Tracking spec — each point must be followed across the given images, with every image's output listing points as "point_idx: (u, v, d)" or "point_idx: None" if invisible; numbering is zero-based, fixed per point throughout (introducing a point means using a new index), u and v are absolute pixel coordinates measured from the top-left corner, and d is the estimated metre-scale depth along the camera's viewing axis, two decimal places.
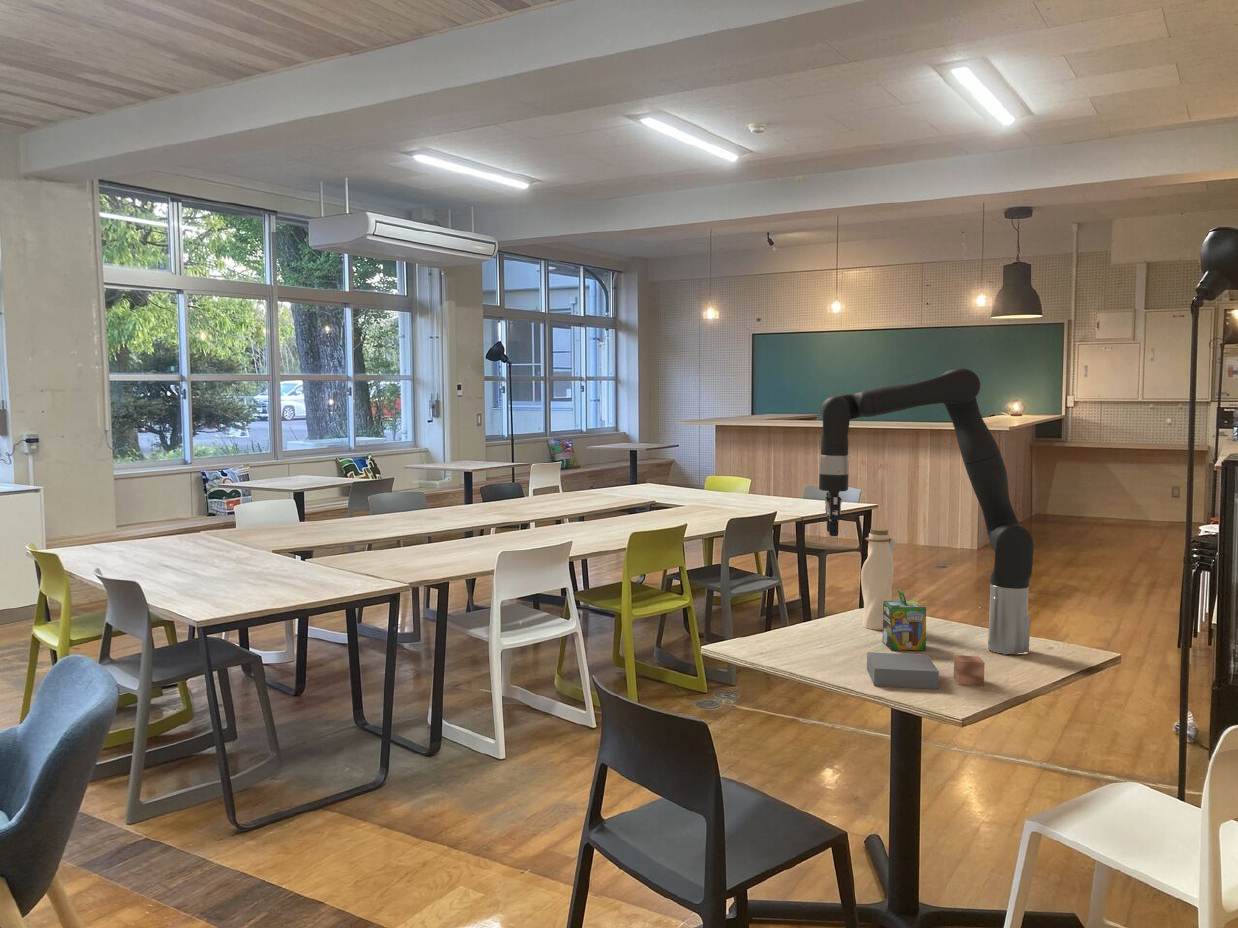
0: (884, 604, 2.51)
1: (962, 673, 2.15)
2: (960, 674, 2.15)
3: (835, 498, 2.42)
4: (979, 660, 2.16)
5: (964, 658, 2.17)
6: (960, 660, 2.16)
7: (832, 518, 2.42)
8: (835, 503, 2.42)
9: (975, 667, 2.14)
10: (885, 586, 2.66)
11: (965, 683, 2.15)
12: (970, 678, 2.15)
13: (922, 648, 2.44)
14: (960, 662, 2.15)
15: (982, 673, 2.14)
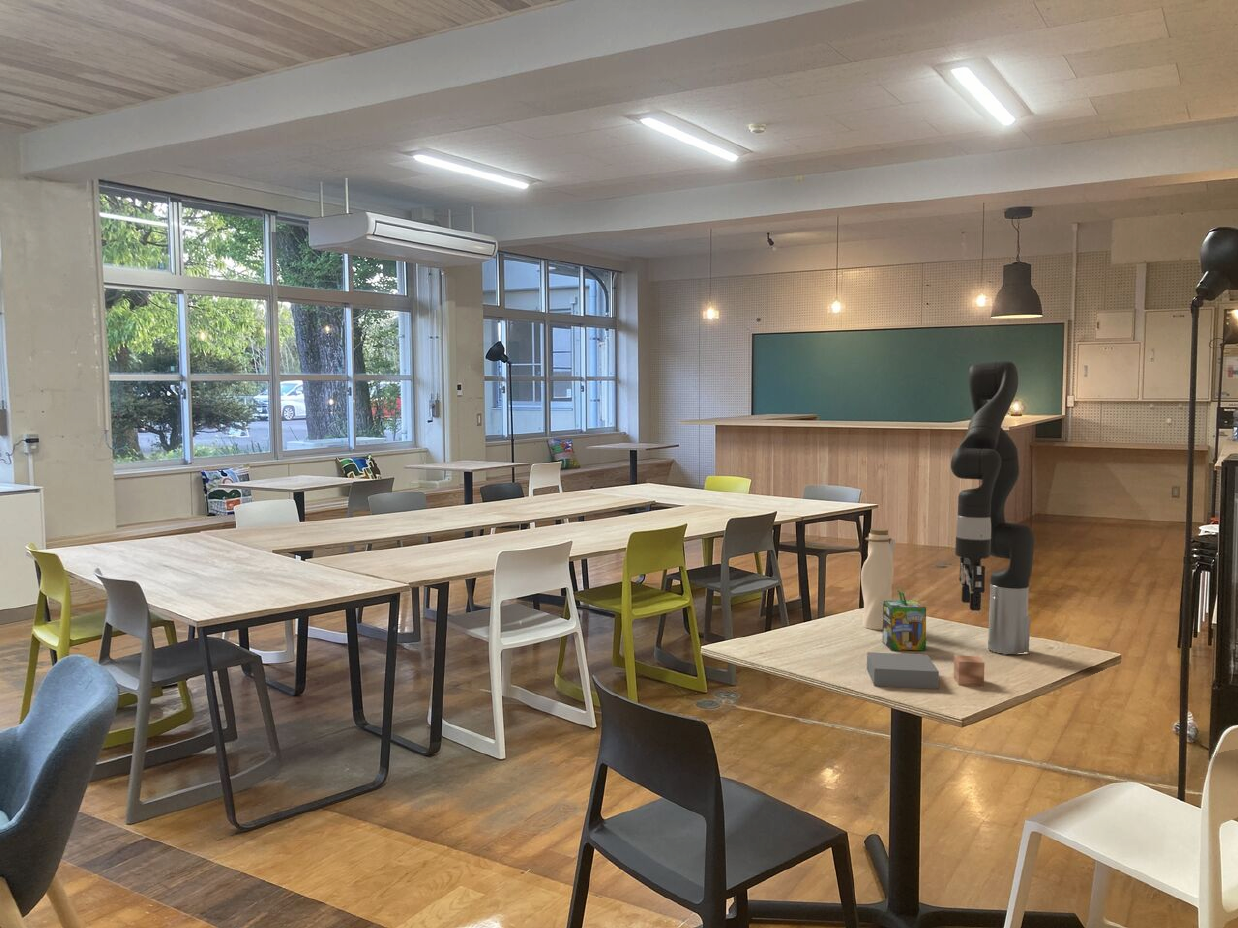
0: (884, 604, 2.51)
1: (962, 673, 2.15)
2: (960, 674, 2.15)
3: (979, 567, 2.09)
4: (979, 660, 2.16)
5: (964, 658, 2.17)
6: (960, 660, 2.16)
7: (975, 590, 2.09)
8: (979, 573, 2.09)
9: (975, 667, 2.14)
10: (885, 586, 2.66)
11: (965, 683, 2.15)
12: (970, 678, 2.15)
13: (922, 648, 2.44)
14: (960, 662, 2.15)
15: (982, 673, 2.14)
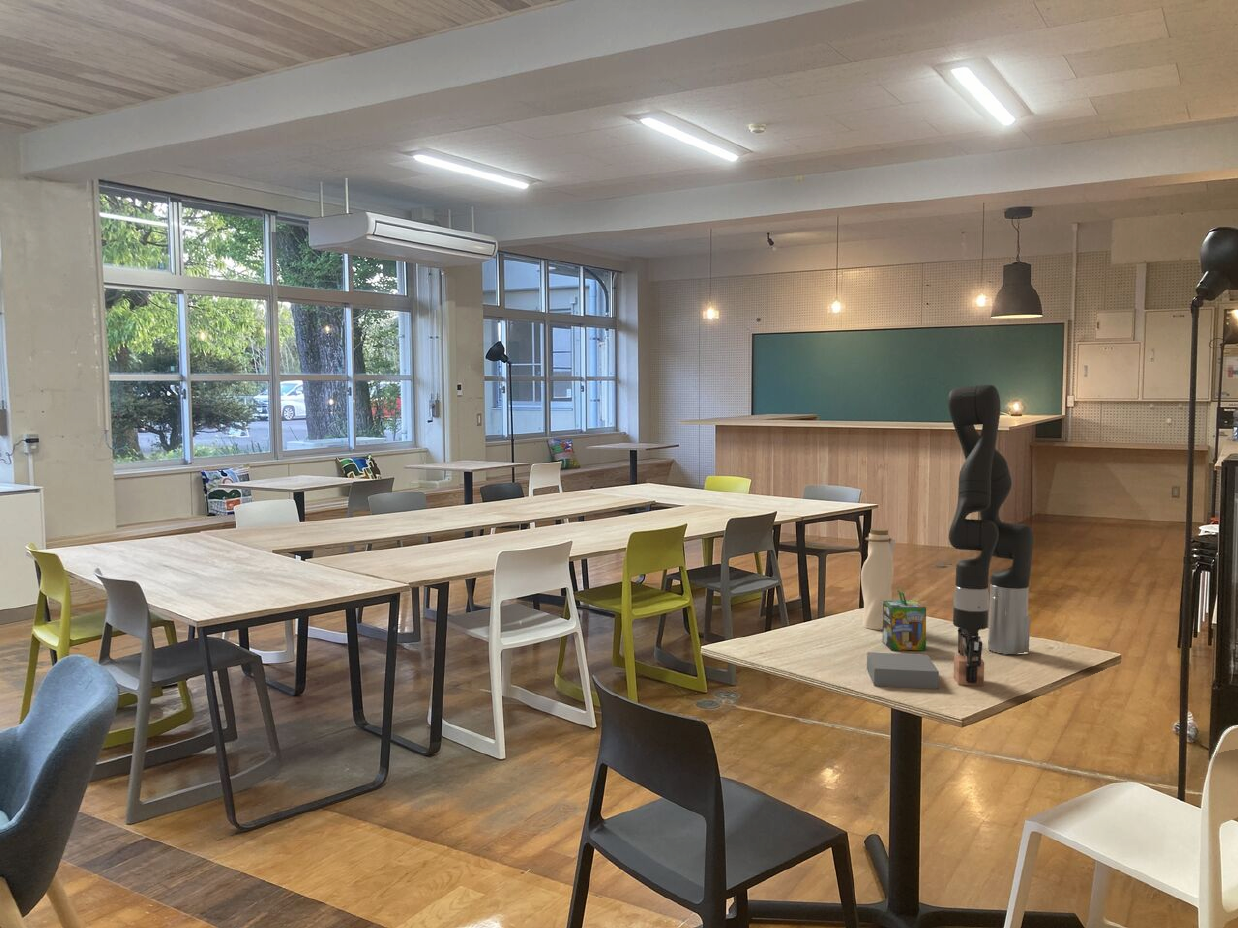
0: (884, 604, 2.51)
1: (962, 672, 2.15)
2: (960, 674, 2.15)
3: (976, 644, 2.10)
4: None
5: (964, 658, 2.17)
6: (960, 660, 2.16)
7: (971, 664, 2.12)
8: (976, 649, 2.11)
9: None
10: (885, 586, 2.66)
11: (965, 683, 2.15)
12: None
13: (922, 648, 2.44)
14: (960, 662, 2.15)
15: (982, 673, 2.14)
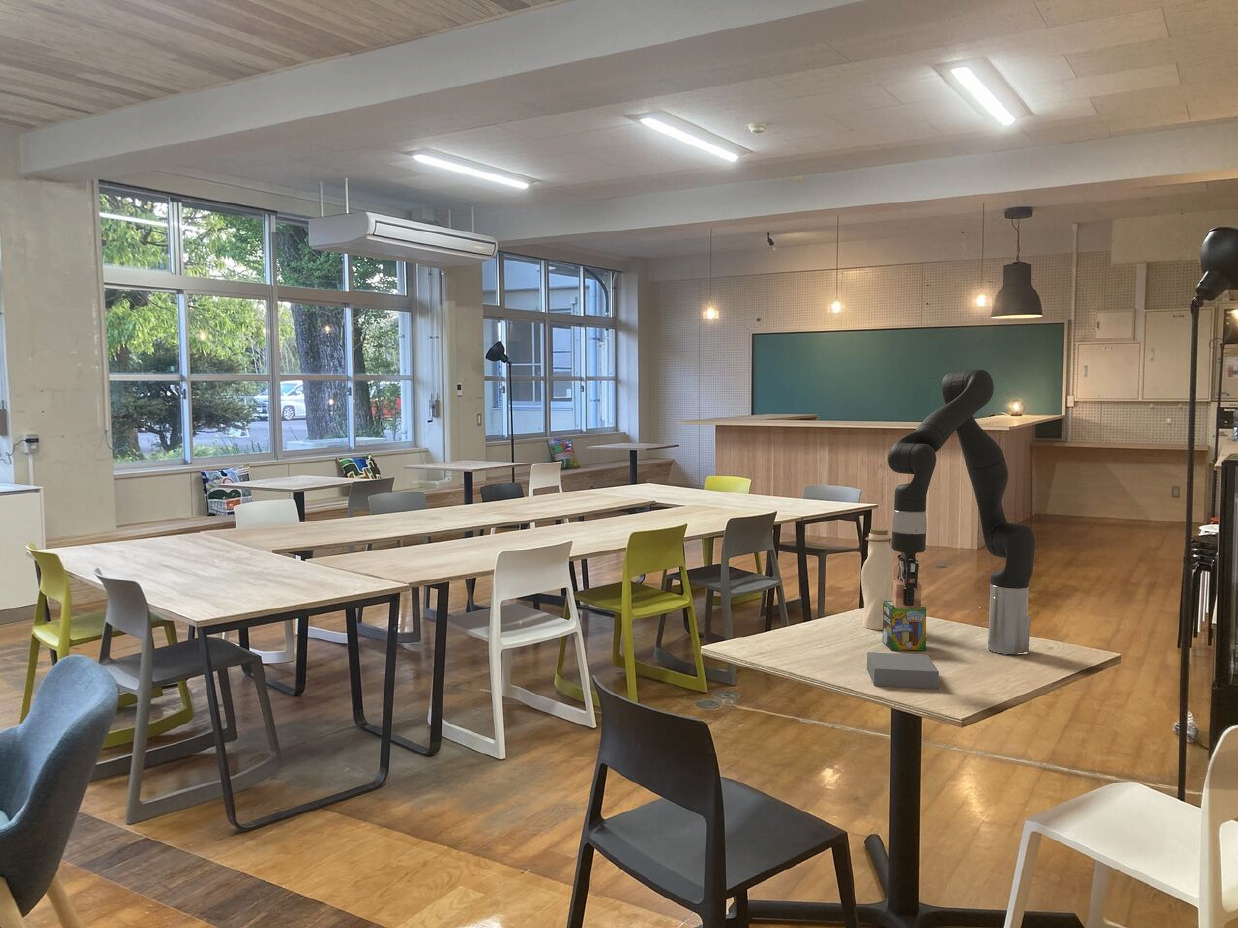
0: (884, 604, 2.51)
1: (899, 596, 2.16)
2: (897, 597, 2.16)
3: (912, 565, 2.11)
4: None
5: (902, 582, 2.18)
6: (897, 583, 2.16)
7: (908, 586, 2.12)
8: (912, 571, 2.11)
9: None
10: (885, 586, 2.66)
11: (902, 606, 2.16)
12: None
13: (922, 648, 2.44)
14: (897, 585, 2.15)
15: (919, 596, 2.15)
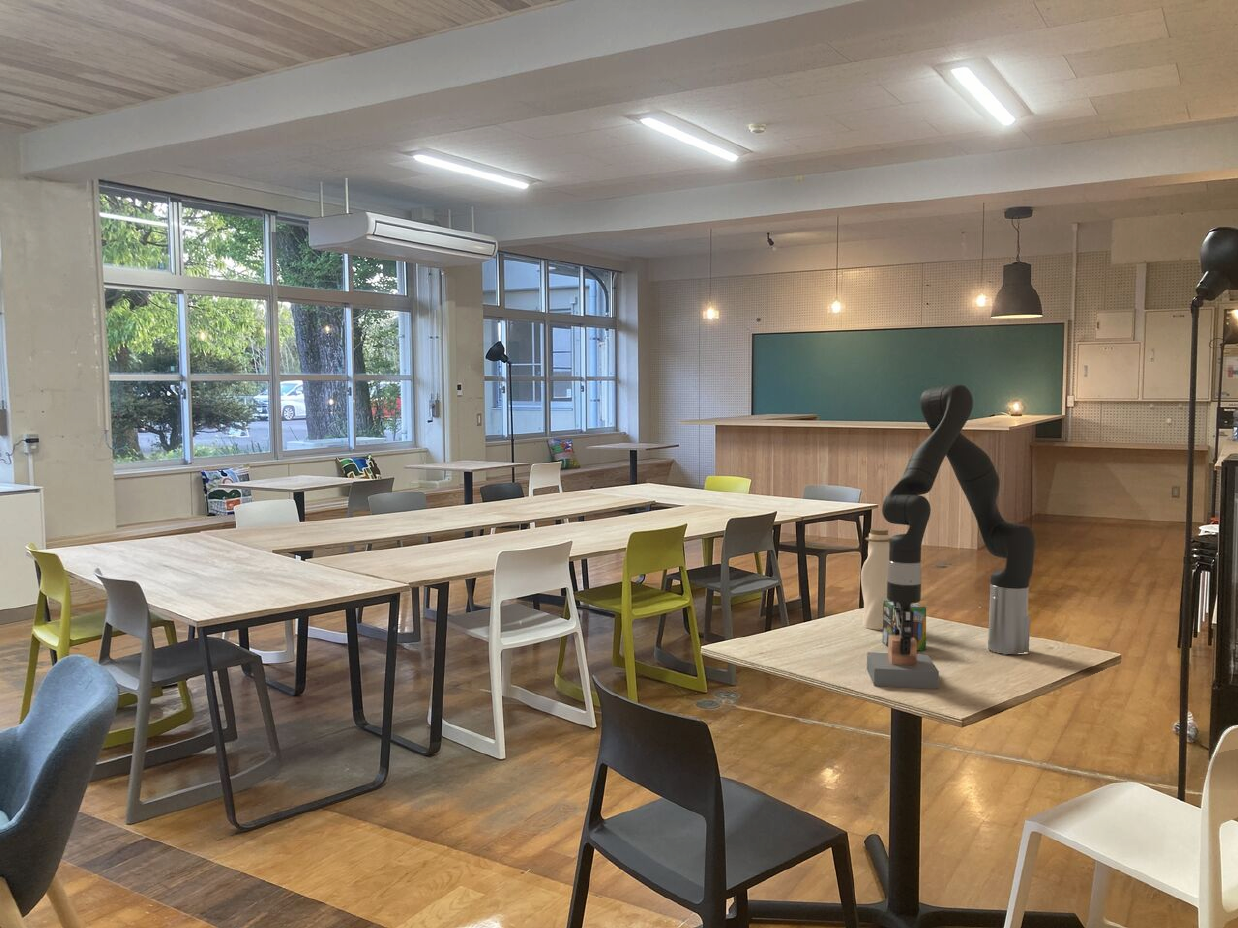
0: (884, 604, 2.51)
1: (895, 652, 2.17)
2: (893, 653, 2.17)
3: (908, 613, 2.12)
4: (912, 639, 2.18)
5: (897, 637, 2.19)
6: (893, 639, 2.18)
7: (904, 636, 2.12)
8: (908, 619, 2.12)
9: None
10: (885, 586, 2.66)
11: (898, 662, 2.17)
12: (903, 657, 2.17)
13: (922, 648, 2.44)
14: (893, 641, 2.17)
15: (915, 652, 2.16)
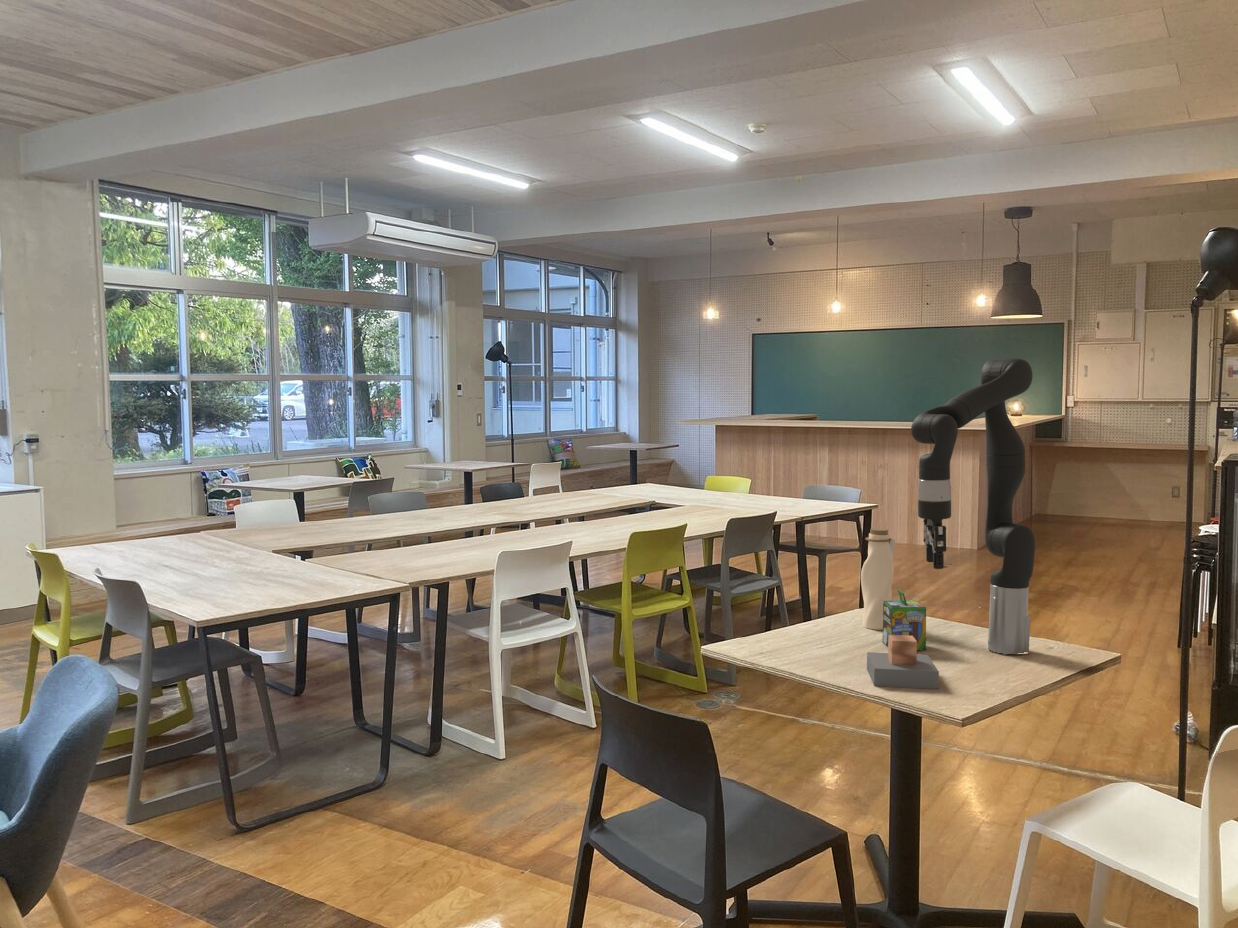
0: (884, 604, 2.51)
1: (895, 652, 2.17)
2: (893, 653, 2.17)
3: (940, 528, 2.19)
4: (912, 639, 2.18)
5: (897, 637, 2.19)
6: (893, 639, 2.18)
7: (937, 550, 2.19)
8: (940, 533, 2.19)
9: (908, 646, 2.16)
10: (885, 586, 2.66)
11: (898, 662, 2.17)
12: (903, 657, 2.17)
13: (922, 648, 2.44)
14: (893, 641, 2.17)
15: (915, 652, 2.16)
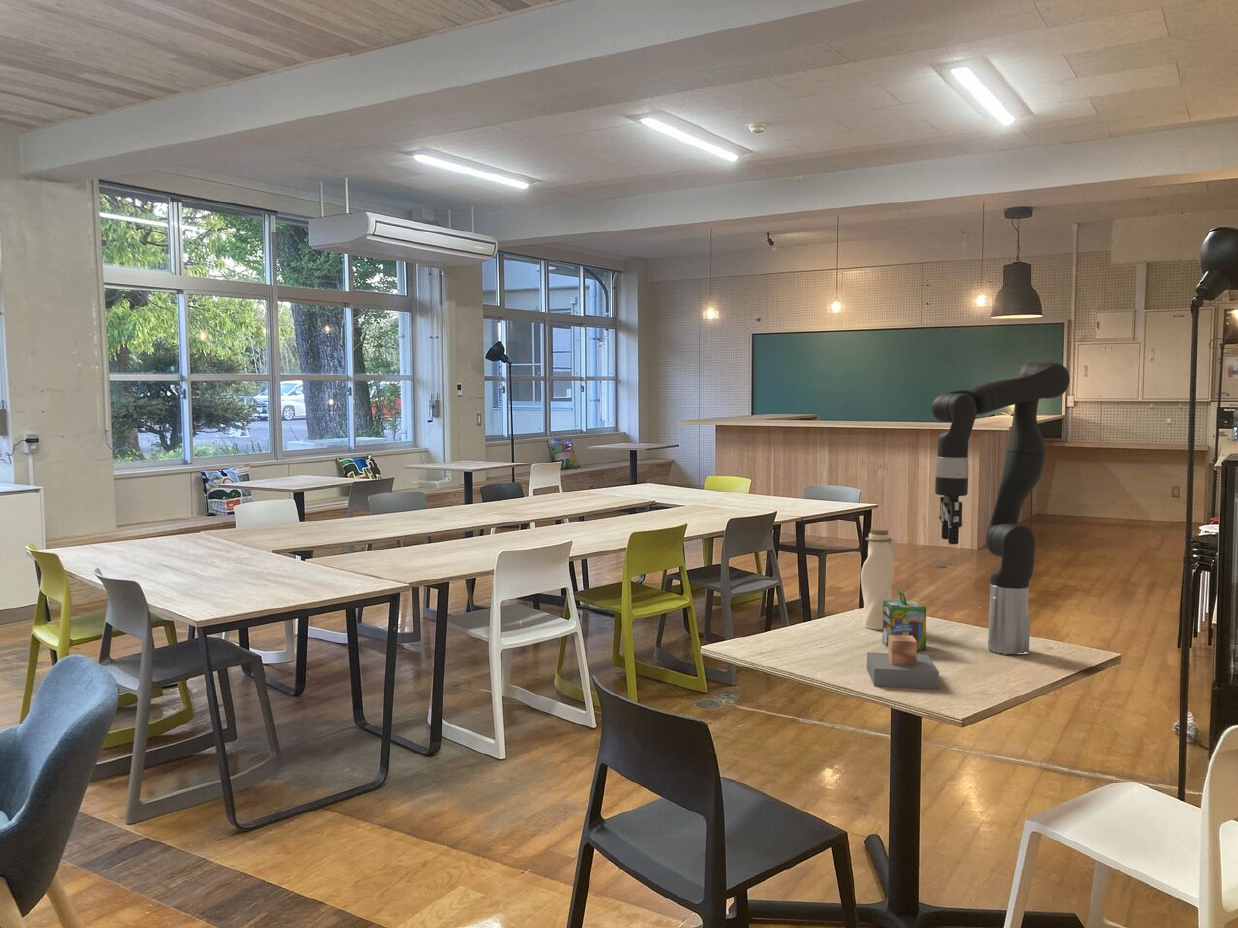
0: (884, 604, 2.51)
1: (895, 652, 2.17)
2: (893, 653, 2.17)
3: (956, 503, 2.24)
4: (912, 639, 2.18)
5: (897, 637, 2.19)
6: (893, 639, 2.18)
7: (953, 525, 2.24)
8: (956, 509, 2.24)
9: (908, 646, 2.16)
10: (885, 586, 2.66)
11: (898, 662, 2.17)
12: (903, 657, 2.17)
13: (922, 648, 2.44)
14: (893, 641, 2.17)
15: (915, 652, 2.16)
